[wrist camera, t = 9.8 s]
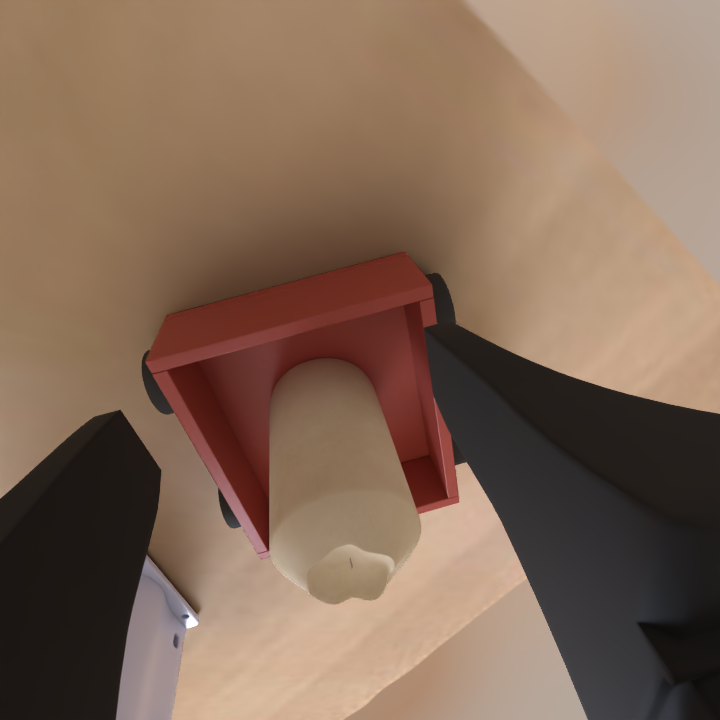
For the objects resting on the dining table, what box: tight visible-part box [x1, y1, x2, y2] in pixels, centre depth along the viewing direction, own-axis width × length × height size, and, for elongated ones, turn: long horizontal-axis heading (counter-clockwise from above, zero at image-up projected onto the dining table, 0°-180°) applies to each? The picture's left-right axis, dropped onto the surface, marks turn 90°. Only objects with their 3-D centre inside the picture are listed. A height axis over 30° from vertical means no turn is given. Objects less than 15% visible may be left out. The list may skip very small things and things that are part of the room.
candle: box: [269, 358, 421, 604], centre depth 19 cm, size 6×6×10 cm
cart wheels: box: [142, 273, 467, 528], centre depth 23 cm, size 17×13×3 cm
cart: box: [145, 252, 459, 559], centre depth 22 cm, size 13×11×4 cm
